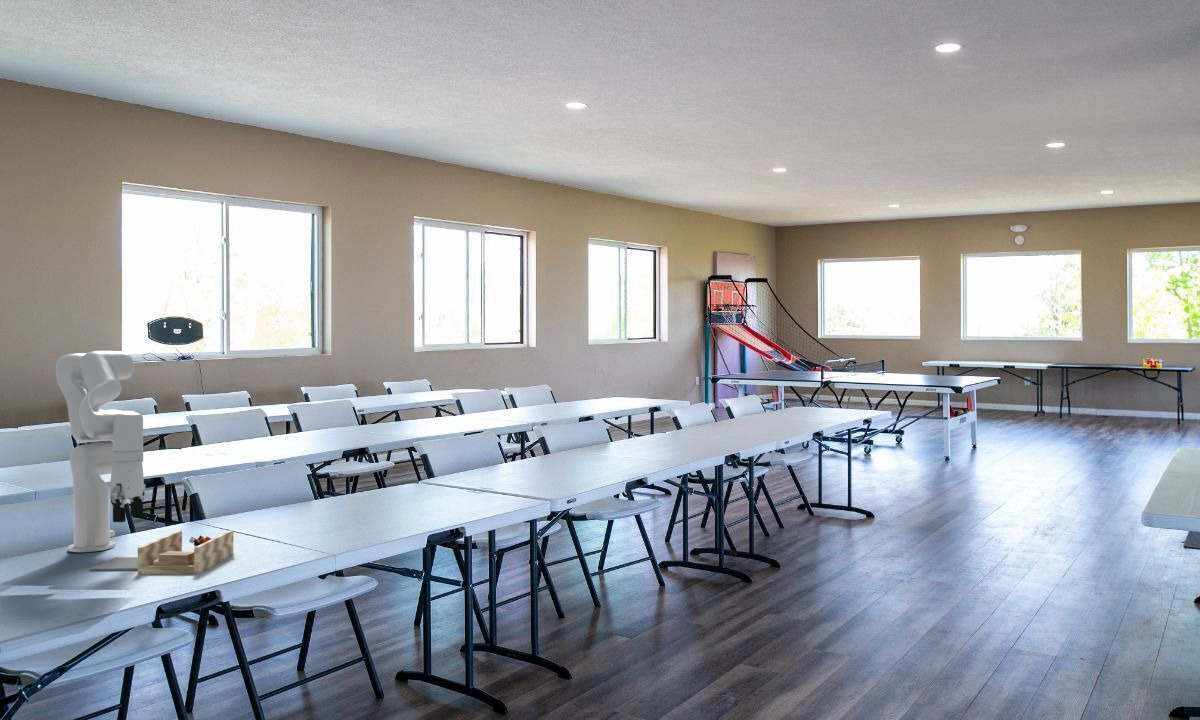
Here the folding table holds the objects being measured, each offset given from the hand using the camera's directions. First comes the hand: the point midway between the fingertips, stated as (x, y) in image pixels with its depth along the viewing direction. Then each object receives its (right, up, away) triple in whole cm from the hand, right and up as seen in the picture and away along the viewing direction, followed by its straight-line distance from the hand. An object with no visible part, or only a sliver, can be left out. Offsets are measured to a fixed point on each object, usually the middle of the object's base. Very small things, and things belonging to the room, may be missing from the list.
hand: (128, 518), depth 251 cm
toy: (+18, -10, +6) cm, 22 cm away
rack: (+16, -13, +1) cm, 21 cm away
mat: (0, -13, 0) cm, 13 cm away
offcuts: (+16, -13, -6) cm, 21 cm away
